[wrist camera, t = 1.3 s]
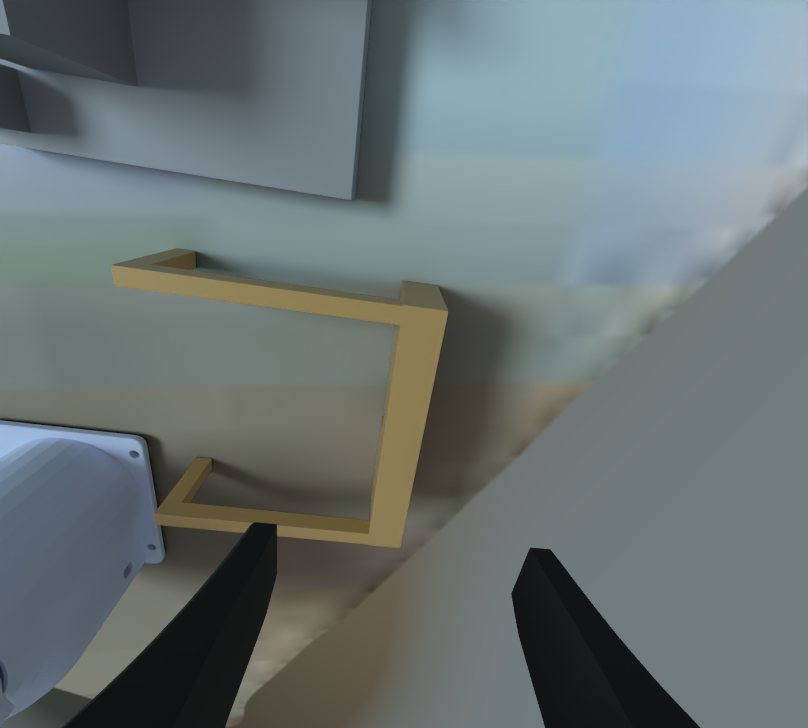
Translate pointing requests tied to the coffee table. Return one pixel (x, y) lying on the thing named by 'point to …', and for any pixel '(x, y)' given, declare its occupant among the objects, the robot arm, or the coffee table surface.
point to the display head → (192, 86)
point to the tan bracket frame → (402, 421)
